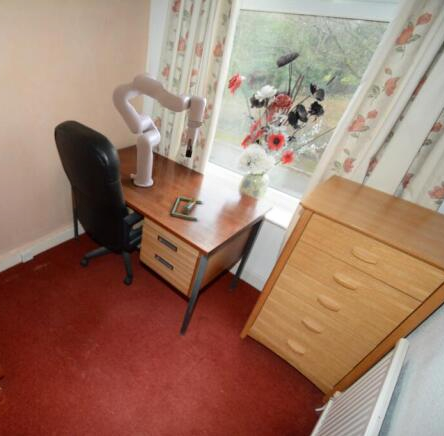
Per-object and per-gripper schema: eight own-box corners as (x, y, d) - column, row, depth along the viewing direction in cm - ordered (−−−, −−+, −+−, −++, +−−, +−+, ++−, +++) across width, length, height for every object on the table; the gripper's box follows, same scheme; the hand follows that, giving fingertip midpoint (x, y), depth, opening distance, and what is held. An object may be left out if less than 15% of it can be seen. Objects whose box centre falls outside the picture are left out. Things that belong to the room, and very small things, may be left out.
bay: (171, 215, 146) (171, 213, 145) (178, 198, 160) (178, 196, 159) (196, 221, 142) (196, 218, 141) (201, 203, 157) (201, 200, 156)
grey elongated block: (187, 214, 147) (188, 209, 144) (182, 212, 148) (184, 207, 145) (195, 204, 155) (197, 199, 152) (191, 202, 156) (193, 197, 153)
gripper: (190, 118, 146) (184, 150, 156) (184, 125, 134) (178, 160, 145) (204, 120, 144) (197, 153, 154) (199, 128, 132) (192, 163, 143)
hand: (188, 156), depth 150 cm, fingers closed
